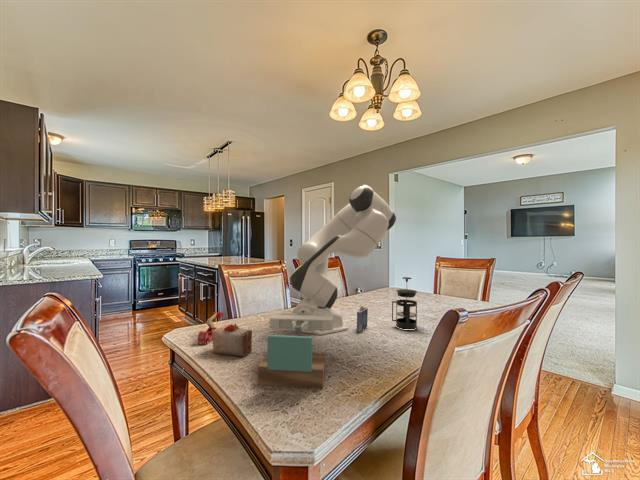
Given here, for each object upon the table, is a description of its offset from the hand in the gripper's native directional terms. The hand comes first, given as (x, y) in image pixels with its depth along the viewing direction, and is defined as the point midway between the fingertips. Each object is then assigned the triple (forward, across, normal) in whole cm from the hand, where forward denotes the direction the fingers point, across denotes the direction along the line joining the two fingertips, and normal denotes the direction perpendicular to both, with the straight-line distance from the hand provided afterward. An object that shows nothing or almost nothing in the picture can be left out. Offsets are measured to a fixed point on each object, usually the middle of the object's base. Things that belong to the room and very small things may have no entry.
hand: (298, 329), depth 87 cm
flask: (-46, +21, +14) cm, 53 cm away
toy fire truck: (-27, -39, +14) cm, 50 cm away
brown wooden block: (+1, -1, +14) cm, 14 cm away
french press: (-51, +41, +14) cm, 67 cm away
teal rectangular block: (+8, -1, +9) cm, 12 cm away
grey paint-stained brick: (-15, -26, +14) cm, 33 cm away
